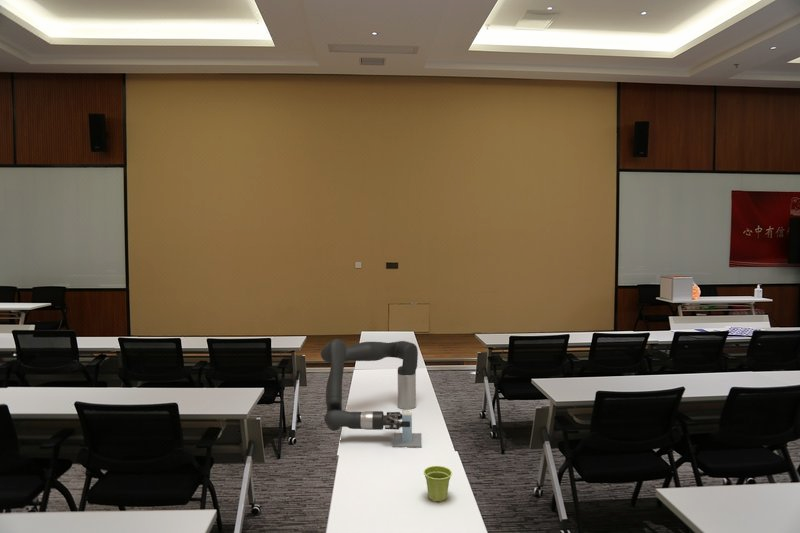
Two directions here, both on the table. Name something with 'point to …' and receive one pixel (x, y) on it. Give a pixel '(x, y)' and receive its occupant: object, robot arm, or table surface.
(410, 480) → the table surface
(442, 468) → the plant pot
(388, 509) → the table surface
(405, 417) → the blue block
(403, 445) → the mat
